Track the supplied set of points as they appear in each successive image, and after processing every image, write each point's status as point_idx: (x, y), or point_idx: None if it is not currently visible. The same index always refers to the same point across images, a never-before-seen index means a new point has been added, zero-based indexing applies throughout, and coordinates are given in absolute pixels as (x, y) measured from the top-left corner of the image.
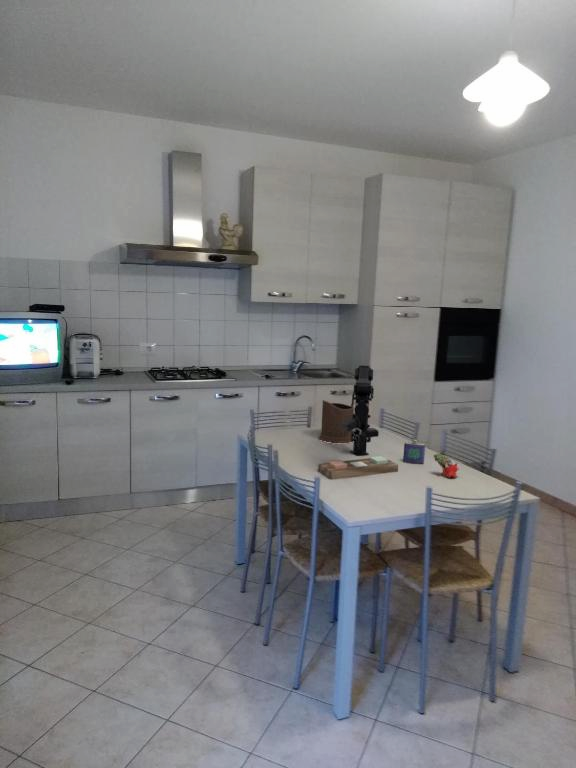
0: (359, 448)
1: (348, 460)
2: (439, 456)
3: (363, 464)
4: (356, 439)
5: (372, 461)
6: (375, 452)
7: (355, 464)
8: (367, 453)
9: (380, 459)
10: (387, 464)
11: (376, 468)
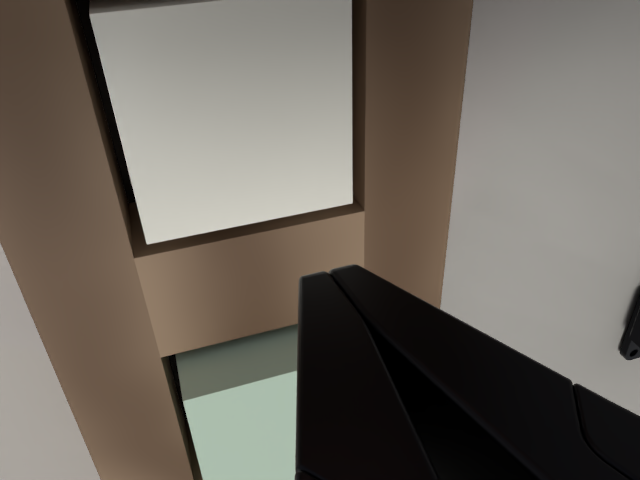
0: (301, 290)
1: (467, 30)
2: None
3: (199, 191)
4: (568, 432)
5: (287, 343)
6: (627, 405)
7: (225, 53)
8: (635, 351)
9: (244, 446)
10: (154, 467)
11: (42, 323)
